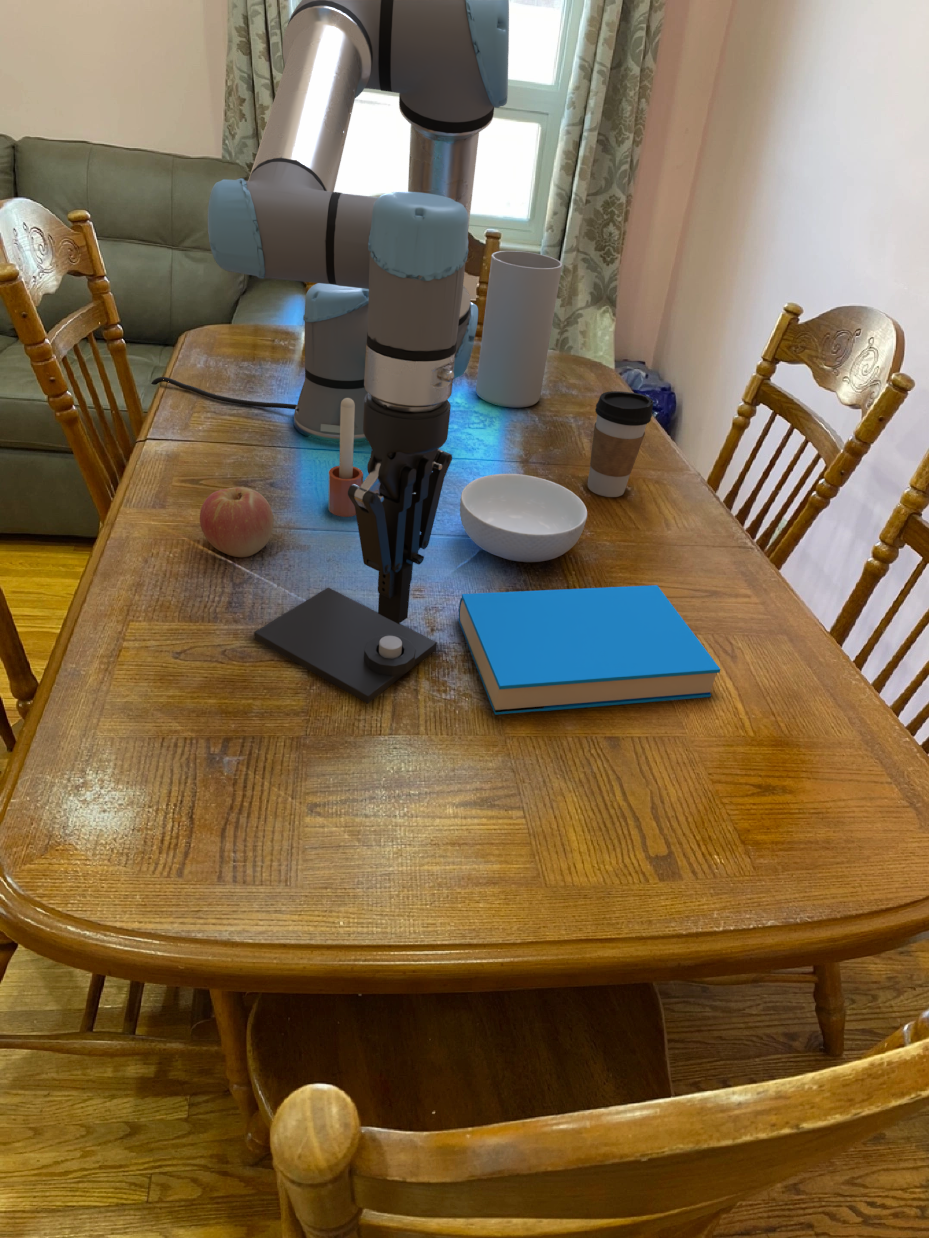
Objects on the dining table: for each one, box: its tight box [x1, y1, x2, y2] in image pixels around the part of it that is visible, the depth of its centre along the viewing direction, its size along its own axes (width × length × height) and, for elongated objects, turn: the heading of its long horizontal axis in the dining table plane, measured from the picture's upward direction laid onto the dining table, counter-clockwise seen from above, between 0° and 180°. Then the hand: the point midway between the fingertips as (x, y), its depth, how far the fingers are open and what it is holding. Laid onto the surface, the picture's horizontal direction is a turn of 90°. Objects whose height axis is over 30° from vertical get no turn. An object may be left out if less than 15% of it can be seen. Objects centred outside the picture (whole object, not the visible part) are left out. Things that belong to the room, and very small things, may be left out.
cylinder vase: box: [475, 250, 563, 409], centre depth 152 cm, size 12×12×25 cm
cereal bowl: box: [459, 473, 588, 563], centre depth 110 cm, size 17×17×7 cm
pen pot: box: [327, 465, 364, 518], centre depth 113 cm, size 5×5×6 cm
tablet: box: [253, 587, 438, 704], centre depth 90 cm, size 17×12×2 cm
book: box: [458, 584, 721, 715], centre depth 93 cm, size 17×4×25 cm
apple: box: [199, 486, 275, 558], centre depth 102 cm, size 9×9×8 cm
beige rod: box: [338, 398, 355, 479], centre depth 110 cm, size 2×2×16 cm
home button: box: [379, 636, 402, 659], centre depth 87 cm, size 2×2×1 cm
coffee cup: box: [587, 390, 654, 498], centre depth 126 cm, size 8×8×15 cm
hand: (392, 615), depth 85 cm, fingers closed
